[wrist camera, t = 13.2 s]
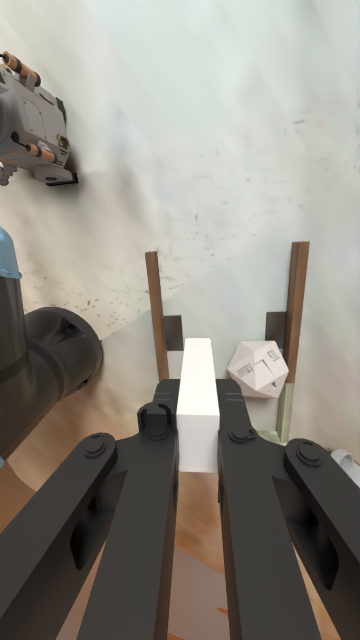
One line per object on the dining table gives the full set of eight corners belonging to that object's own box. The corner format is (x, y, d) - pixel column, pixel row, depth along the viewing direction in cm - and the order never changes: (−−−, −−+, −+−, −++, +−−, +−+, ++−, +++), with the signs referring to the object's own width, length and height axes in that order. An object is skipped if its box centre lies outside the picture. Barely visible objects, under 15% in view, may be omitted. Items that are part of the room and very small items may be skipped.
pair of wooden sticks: (168, 434, 45) (166, 444, 43) (148, 251, 34) (144, 252, 32) (282, 436, 42) (287, 448, 40) (301, 241, 31) (309, 241, 29)
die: (268, 320, 33) (315, 383, 30) (257, 334, 41) (293, 384, 38) (217, 350, 33) (258, 416, 30) (216, 358, 41) (249, 410, 38)
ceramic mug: (329, 459, 45) (371, 501, 40) (300, 485, 42) (342, 534, 37) (348, 435, 38) (402, 481, 33) (316, 464, 36) (369, 519, 30)
